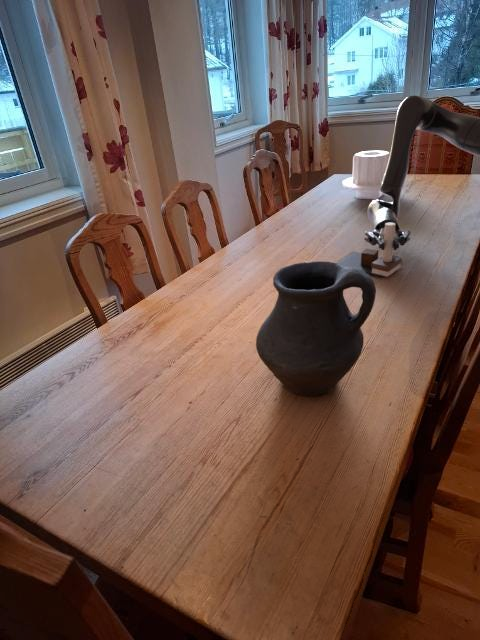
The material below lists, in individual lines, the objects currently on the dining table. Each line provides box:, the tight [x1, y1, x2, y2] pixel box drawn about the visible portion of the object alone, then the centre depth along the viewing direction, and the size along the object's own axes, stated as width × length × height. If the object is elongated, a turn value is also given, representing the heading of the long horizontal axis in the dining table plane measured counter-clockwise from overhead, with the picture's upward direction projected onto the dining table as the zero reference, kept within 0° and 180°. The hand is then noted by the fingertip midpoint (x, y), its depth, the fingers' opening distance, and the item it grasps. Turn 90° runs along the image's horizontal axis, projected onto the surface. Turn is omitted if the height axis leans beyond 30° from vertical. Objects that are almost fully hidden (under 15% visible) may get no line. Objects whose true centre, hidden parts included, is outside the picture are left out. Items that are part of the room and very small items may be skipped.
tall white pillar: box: [371, 222, 403, 277], centre depth 124 cm, size 8×5×14 cm, turn 136°
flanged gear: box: [342, 150, 391, 201], centre depth 196 cm, size 25×25×19 cm
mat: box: [335, 251, 383, 278], centre depth 134 cm, size 16×12×1 cm
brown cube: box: [360, 248, 380, 266], centre depth 132 cm, size 4×4×4 cm
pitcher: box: [255, 260, 377, 397], centre depth 81 cm, size 21×22×25 cm
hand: (389, 246), depth 121 cm, fingers closed on tall white pillar, 3 cm apart
